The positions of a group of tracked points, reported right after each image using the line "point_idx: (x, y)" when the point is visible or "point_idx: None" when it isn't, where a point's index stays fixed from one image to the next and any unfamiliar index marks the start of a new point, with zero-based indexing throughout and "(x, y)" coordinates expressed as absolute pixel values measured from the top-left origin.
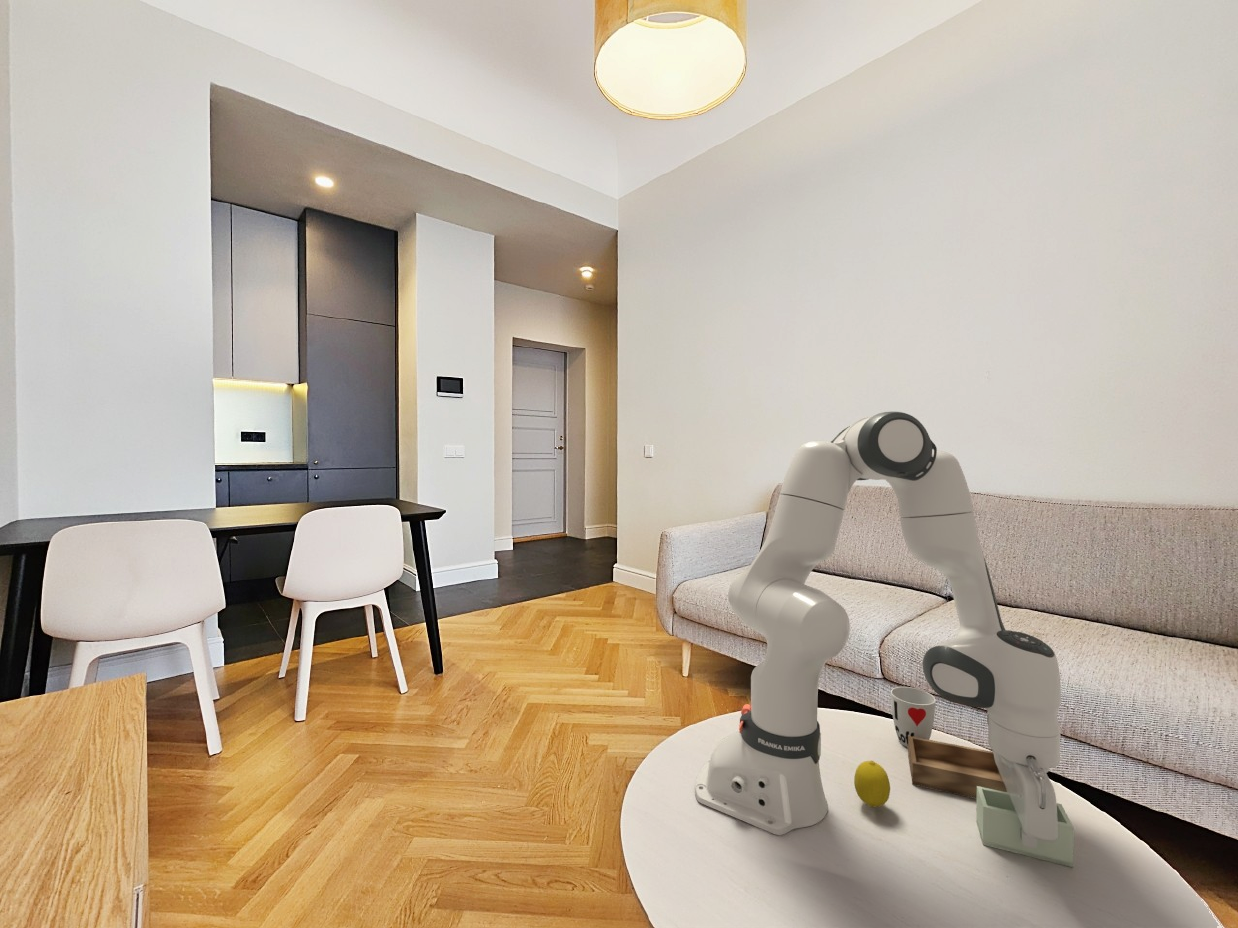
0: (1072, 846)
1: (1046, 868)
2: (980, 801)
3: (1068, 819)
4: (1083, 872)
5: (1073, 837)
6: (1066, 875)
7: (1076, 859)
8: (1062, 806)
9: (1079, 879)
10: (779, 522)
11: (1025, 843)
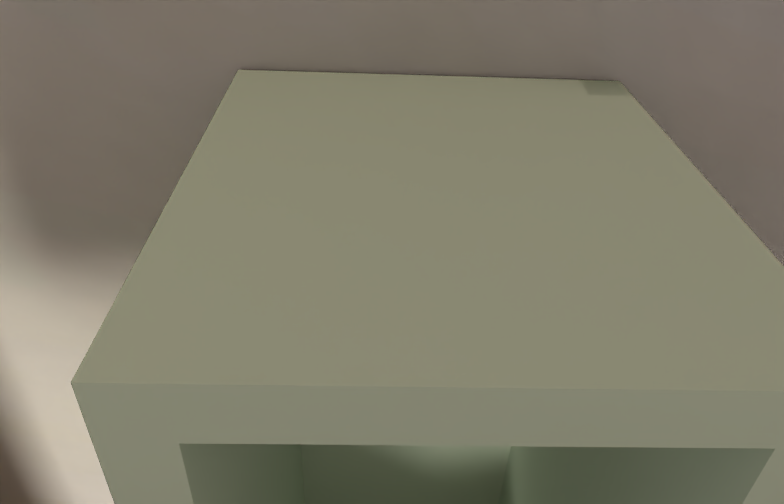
0: (701, 190)
1: None
2: None
3: (646, 405)
4: (672, 7)
5: (773, 258)
6: (731, 166)
7: (481, 5)
8: (159, 378)
9: (773, 79)
10: None
11: None
